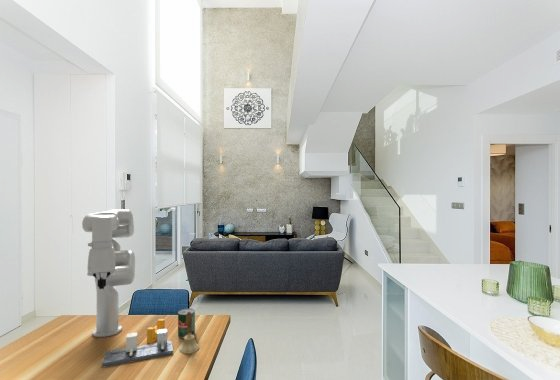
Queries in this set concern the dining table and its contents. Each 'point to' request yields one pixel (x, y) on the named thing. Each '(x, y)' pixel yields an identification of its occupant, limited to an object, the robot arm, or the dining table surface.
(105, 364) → the plate
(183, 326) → the canned tomato
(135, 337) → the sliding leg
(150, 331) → the pipe clamp
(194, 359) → the dining table surface
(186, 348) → the hand bell
